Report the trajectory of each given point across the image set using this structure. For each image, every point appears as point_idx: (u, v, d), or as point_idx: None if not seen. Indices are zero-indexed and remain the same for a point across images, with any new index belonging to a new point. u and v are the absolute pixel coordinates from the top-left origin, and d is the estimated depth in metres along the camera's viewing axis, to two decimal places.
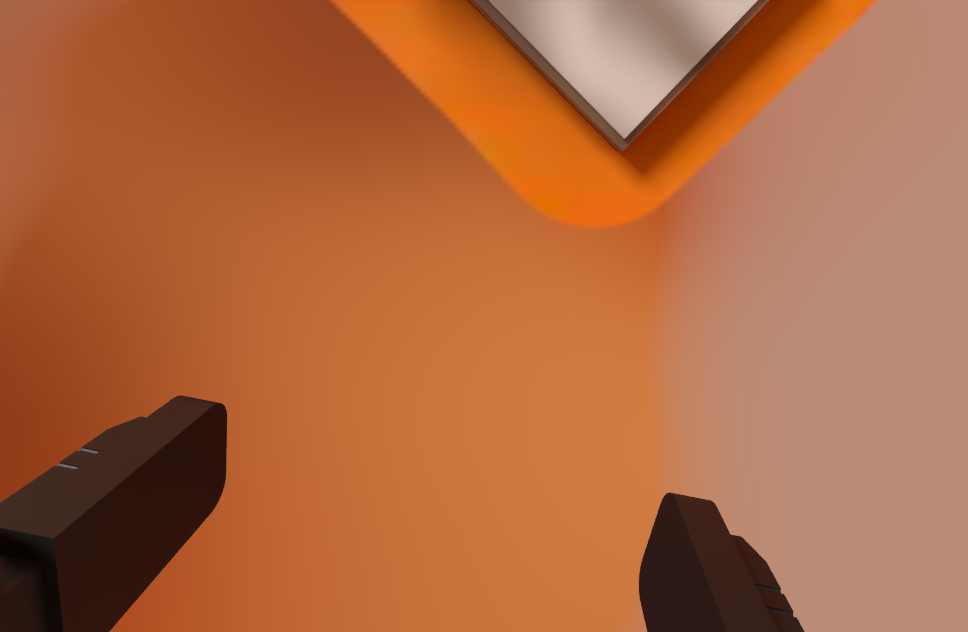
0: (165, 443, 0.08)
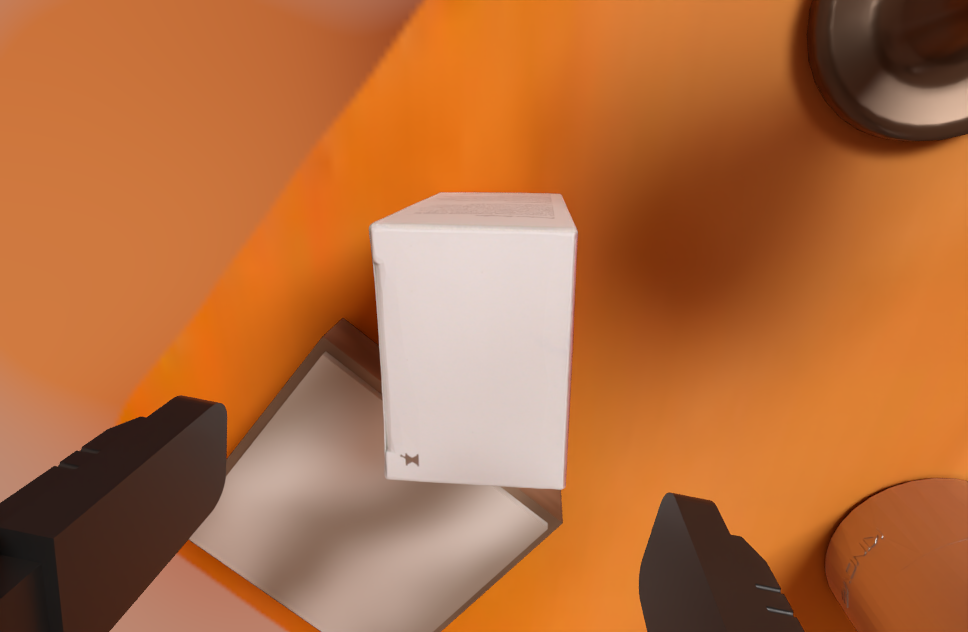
0: (165, 443, 0.08)
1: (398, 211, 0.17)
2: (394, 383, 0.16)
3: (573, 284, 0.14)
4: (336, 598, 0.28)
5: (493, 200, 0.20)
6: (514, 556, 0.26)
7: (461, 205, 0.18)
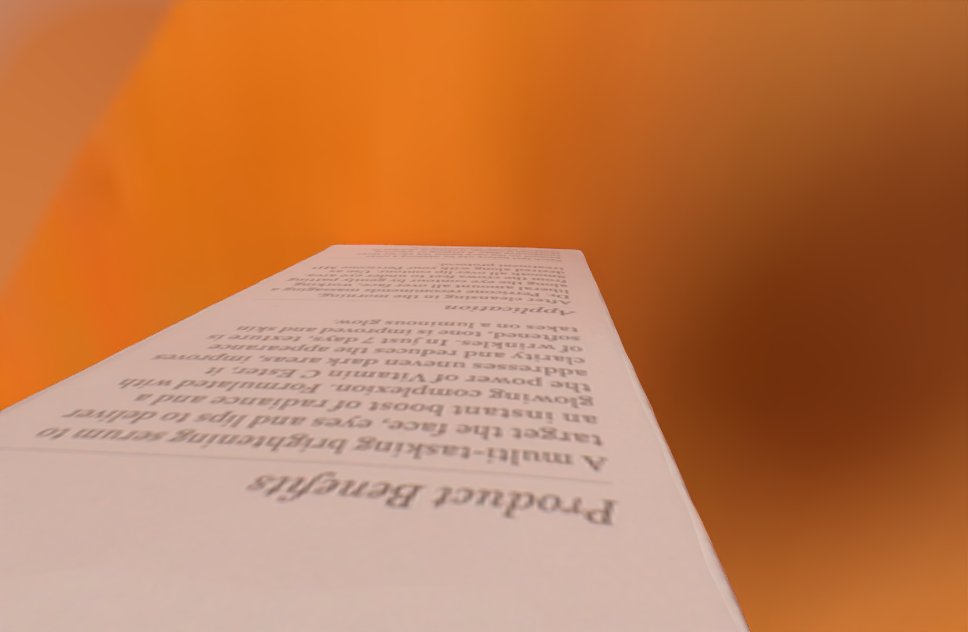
0: None
1: (41, 391, 0.05)
2: None
3: None
4: None
5: (418, 295, 0.08)
6: None
7: (305, 333, 0.06)
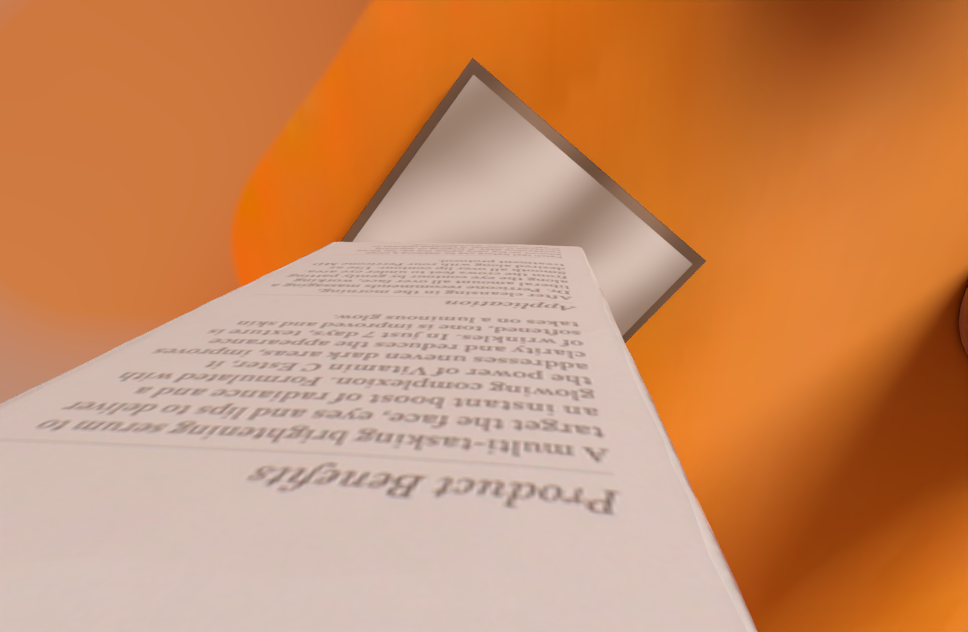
0: None
1: (42, 384, 0.05)
2: None
3: None
4: None
5: (419, 290, 0.08)
6: (656, 298, 0.26)
7: (306, 328, 0.06)
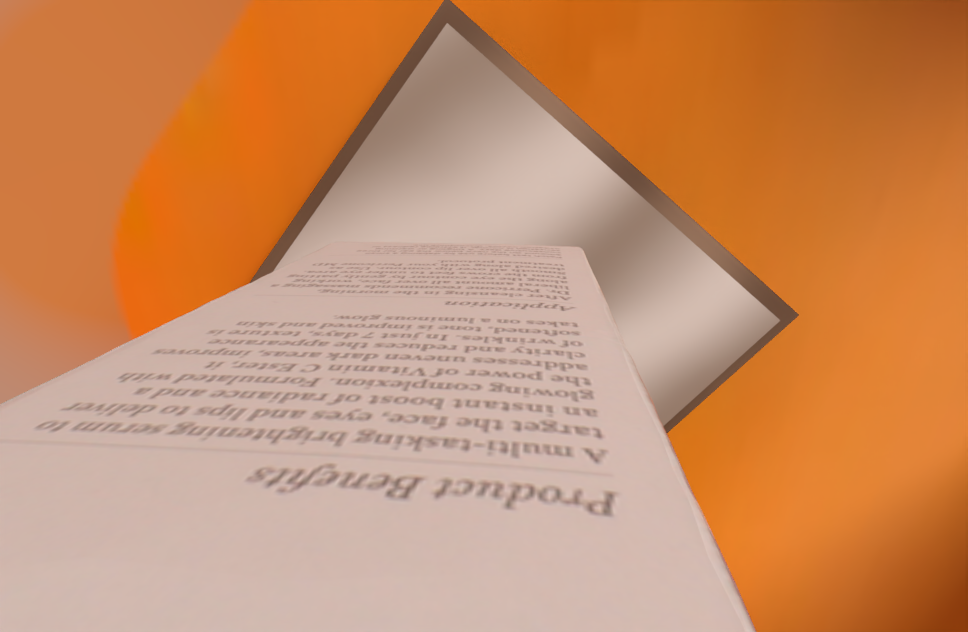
0: None
1: None
2: None
3: None
4: None
5: (418, 290, 0.08)
6: (721, 369, 0.17)
7: (305, 328, 0.06)
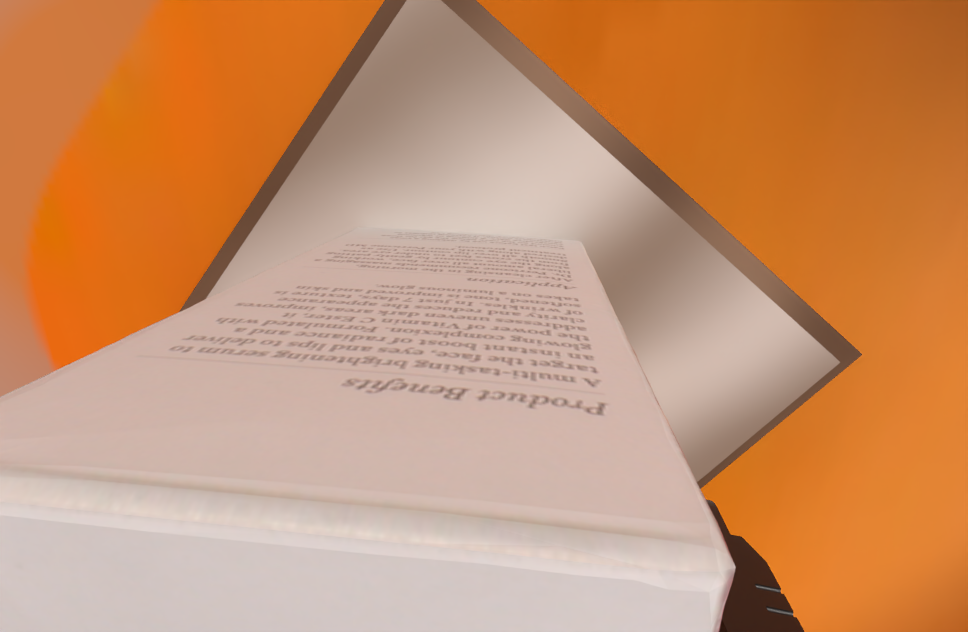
0: None
1: (155, 323, 0.06)
2: None
3: None
4: None
5: (443, 269, 0.09)
6: (764, 421, 0.14)
7: (354, 293, 0.07)
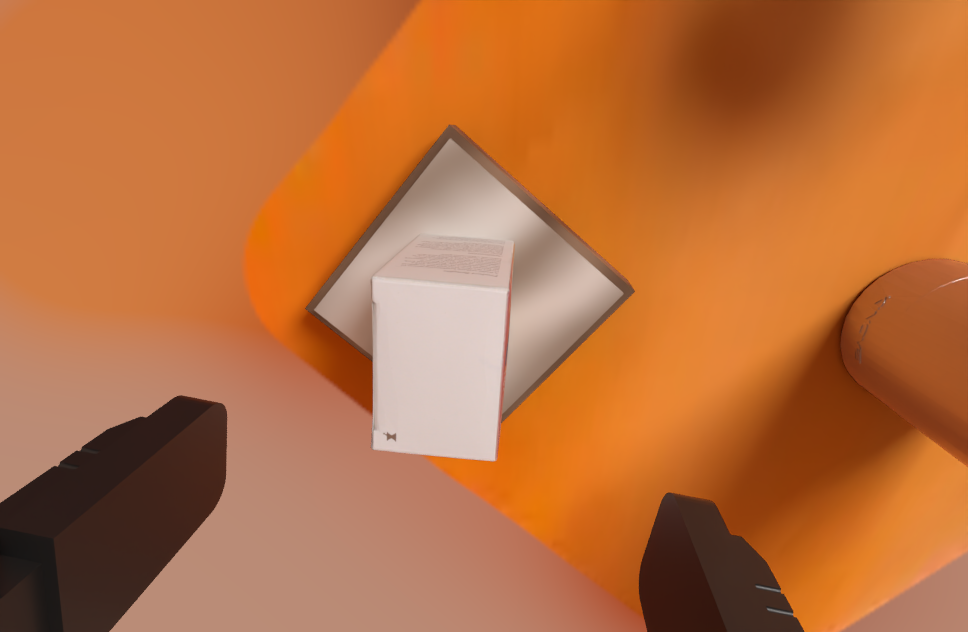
0: (165, 443, 0.08)
1: (389, 261, 0.24)
2: (382, 383, 0.23)
3: (505, 324, 0.21)
4: None
5: (459, 250, 0.27)
6: (594, 320, 0.32)
7: (435, 256, 0.25)
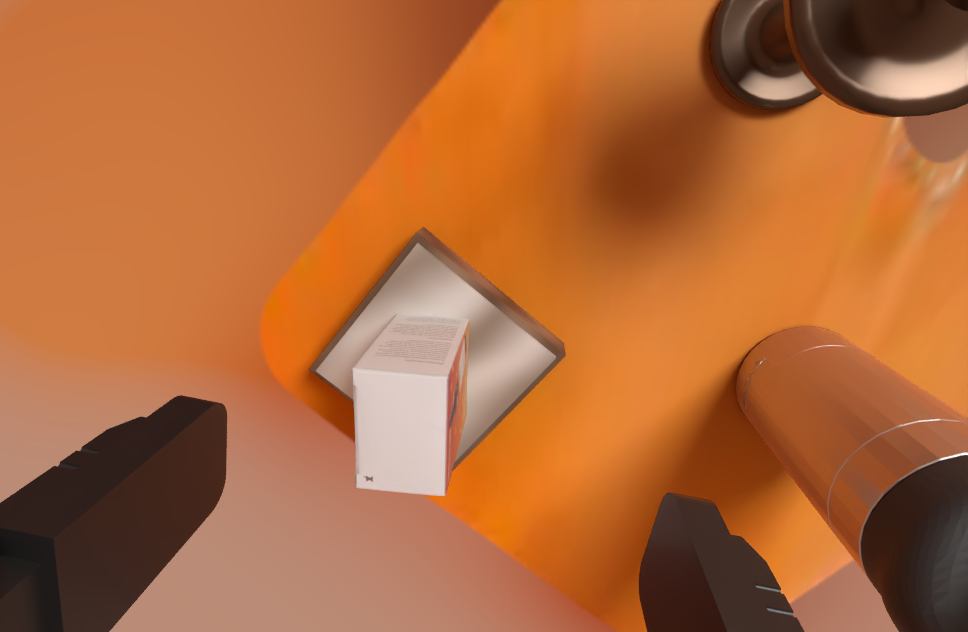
0: (165, 443, 0.08)
1: (367, 350, 0.33)
2: (361, 441, 0.32)
3: (447, 400, 0.30)
4: None
5: (422, 334, 0.36)
6: (534, 378, 0.41)
7: (402, 342, 0.34)
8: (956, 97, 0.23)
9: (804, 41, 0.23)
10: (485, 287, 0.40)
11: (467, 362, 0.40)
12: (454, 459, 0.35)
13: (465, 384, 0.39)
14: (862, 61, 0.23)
